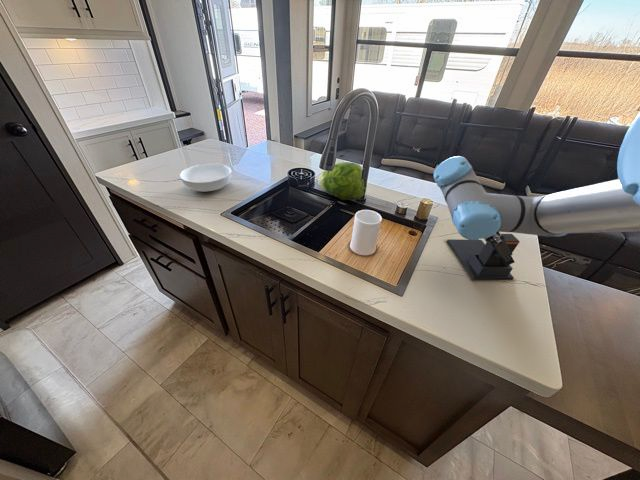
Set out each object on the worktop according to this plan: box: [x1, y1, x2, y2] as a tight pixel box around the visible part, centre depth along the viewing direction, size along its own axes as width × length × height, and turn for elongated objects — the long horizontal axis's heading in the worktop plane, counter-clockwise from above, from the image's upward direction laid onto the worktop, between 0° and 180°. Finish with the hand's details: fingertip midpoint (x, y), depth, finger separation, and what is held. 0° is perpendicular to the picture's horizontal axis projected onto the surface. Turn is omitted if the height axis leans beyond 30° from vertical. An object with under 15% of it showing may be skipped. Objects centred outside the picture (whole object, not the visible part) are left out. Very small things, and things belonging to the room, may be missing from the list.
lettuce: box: [317, 161, 368, 201], centre depth 108 cm, size 16×21×15 cm
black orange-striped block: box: [477, 233, 520, 267], centre depth 73 cm, size 4×6×11 cm, turn 92°
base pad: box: [446, 239, 514, 281], centre depth 80 cm, size 18×12×4 cm, turn 2°
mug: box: [349, 209, 383, 256], centre depth 81 cm, size 12×8×12 cm
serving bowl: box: [179, 162, 233, 192], centre depth 111 cm, size 21×21×7 cm
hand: (504, 258), depth 75 cm, fingers closed on black orange-striped block, 3 cm apart
